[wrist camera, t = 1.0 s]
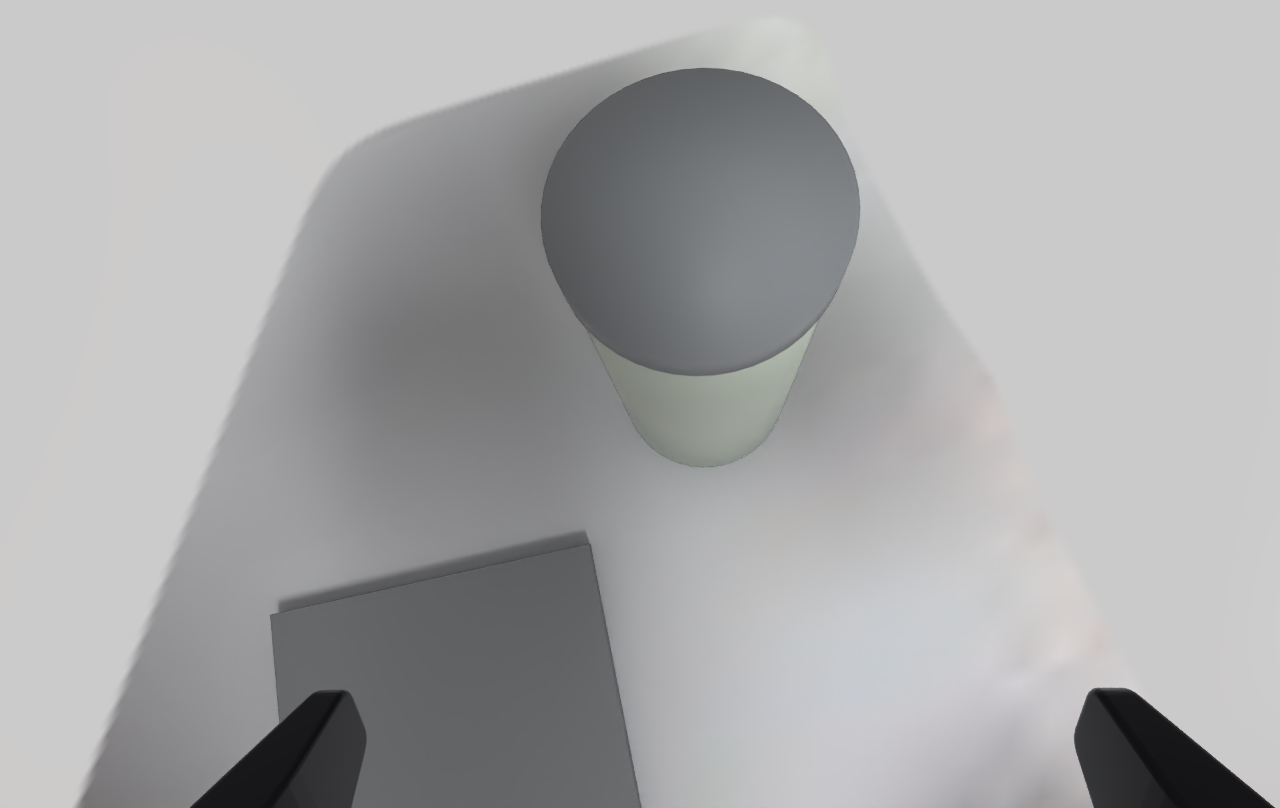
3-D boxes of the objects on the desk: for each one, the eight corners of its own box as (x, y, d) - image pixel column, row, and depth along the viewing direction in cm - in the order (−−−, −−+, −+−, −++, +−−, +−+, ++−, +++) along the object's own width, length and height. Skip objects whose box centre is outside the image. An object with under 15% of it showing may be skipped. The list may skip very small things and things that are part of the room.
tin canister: (805, 449, 23) (900, 316, 12) (641, 486, 23) (572, 391, 12) (763, 295, 24) (811, 36, 13) (608, 332, 25) (517, 109, 13)
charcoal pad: (676, 989, 20) (675, 999, 20) (319, 1060, 21) (309, 1072, 20) (590, 544, 23) (587, 543, 23) (279, 614, 23) (270, 614, 23)
